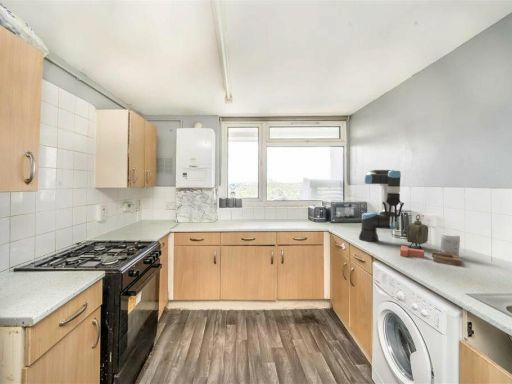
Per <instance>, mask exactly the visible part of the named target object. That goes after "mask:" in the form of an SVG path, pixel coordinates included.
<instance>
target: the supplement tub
mask: <svg viewBox="0 0 512 384" xmlns="http://www.w3.org/2000/svg"><path fill="white" fill-rule="evenodd" d="M440 237H441V239H440V240H441V242H440V252H441V253H448V254H455V255H458V256H459V257H460V246H461V245H460V244H461V243H460V242H461V240H460V239H461V238H460V237H461V236H460V235H459V234H456V233H451V232H450V233H449V232H442V233H441V236H440Z"/></svg>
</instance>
